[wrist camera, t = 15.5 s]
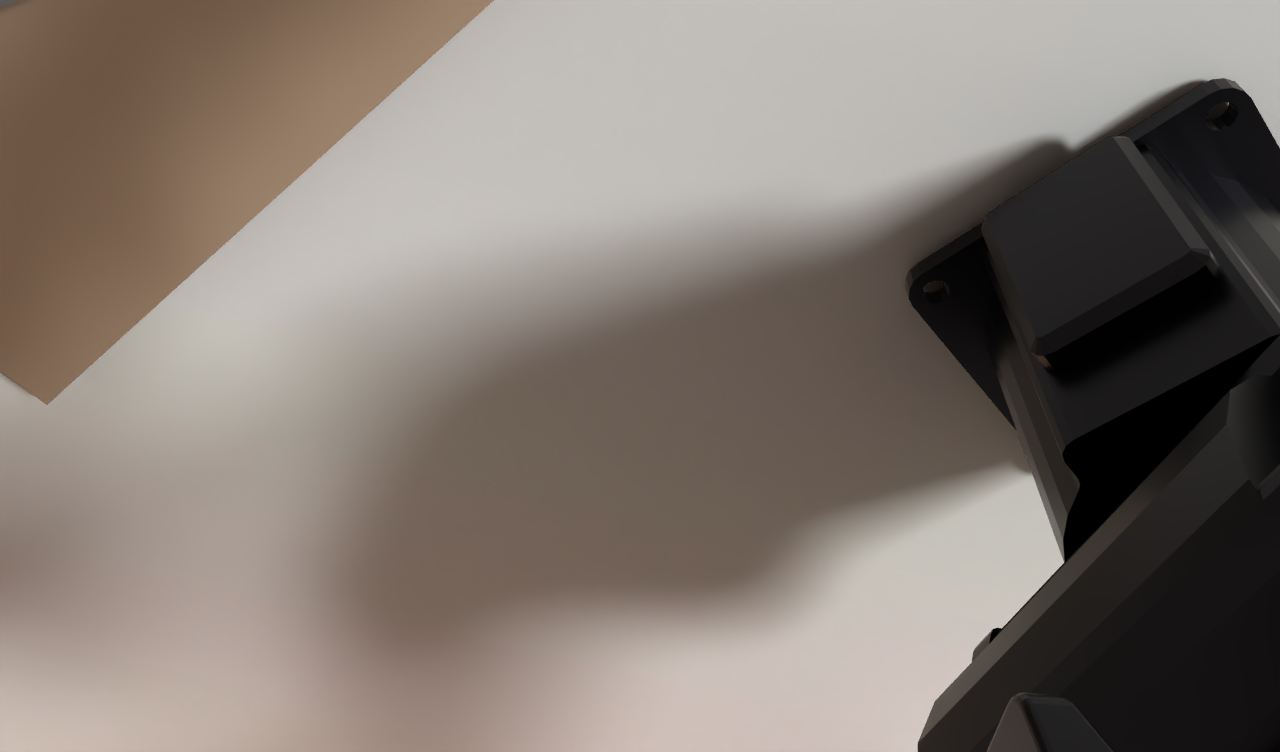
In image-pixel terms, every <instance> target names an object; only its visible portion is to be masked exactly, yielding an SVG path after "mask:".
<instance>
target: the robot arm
mask: <svg viewBox="0 0 1280 752" xmlns="http://www.w3.org/2000/svg"><path fill="white" fill-rule="evenodd" d="M1222 102H1229V106H1228V108H1227V110H1226V112H1225V113H1224V114H1223V115H1222V116H1221V117H1220V118H1217V119H1214V120H1212V121H1209V120H1206V116H1207V114H1208V111H1209V110H1210V109H1211V108H1212V107H1214V106H1215V105H1216V104H1219V103H1222ZM933 281H943V282H944V283H945V284H944V286H943V287H942V288H941V289H940V290H938V291H935V292H925V291H924V290H923V288H924V287H925V286H926V285H927V284H928V283H930V282H933ZM906 290H907V294H908V297H909V300H910V302H911V304H912V306H913V307H914V309H915V310H916V311H917V312H918V313H919V315H920V316H921V317H922V318H923V319H924V321H925V322H926V323H927V324H928V325H929V327H930V328H931V329H932V330H933V331H934V332H935V334H936V335H937V336H938V337H939V338H940V340H941V341H942V342H943V343H944V344H945V346H946V347H947V348H948V349H949V350H950V352H951V353H952V354H953V355H954V356H955V358H956V359H957V360H958V361H959V362H960V364H961V365H962V366H963V367H964V368H965V370H966V371H967V372H968V373H969V374H970V375H971V377H972V378H973V379H974V380H975V381H976V383H977V384H978V385H979V386H980V387H981V389H982V390H983V391H984V392H985V393H986V395H987V396H988V397H989V398H990V399H991V401H992V402H993V403H994V404H995V405H996V407H997V408H998V409H999V410H1000V411H1001V413H1002V414H1003V415H1004V416H1005V417H1006V418H1007V420H1008V421H1009V422H1010V423H1011V424H1012V426H1013V427H1014V428H1015V429H1016V430H1017V432H1018V435H1019V438H1020V441H1021V444H1022V446H1023V449H1024V452H1025V455H1026V457H1027V460H1028V463H1029V466H1030V469H1031V471H1032V474H1033V477H1034V480H1035V482H1036V485H1037V488H1038V491H1039V494H1040V496H1041V499H1042V502H1043V505H1044V507H1045V510H1046V513H1047V516H1048V519H1049V521H1050V524H1051V527H1052V530H1053V532H1054V535H1055V538H1056V541H1057V544H1058V546H1059V549H1060V552H1061V555H1062V557H1063V560H1064V564H1063V565H1062V566H1061V567H1060V568H1059V569H1058V570H1057V571H1056V572H1055V573H1054V574H1053V575H1052V576H1051V577H1050V578H1049V579H1048V580H1047V582H1046V583H1045V584H1044V585H1043V586H1042V587H1041V588H1040V589H1039V590H1038V591H1037V592H1036V593H1035V594H1034V595H1033V596H1032V597H1031V598H1030V600H1029V601H1028V602H1027V603H1026V604H1025V605H1024V606H1023V607H1022V608H1021V609H1020V610H1019V611H1018V612H1017V613H1016V614H1015V615H1014V616H1013V617H1012V619H1011V620H1010V621H1009V622H1008V623H1007V624H1006V625H1005V626H1004V627H1003V628H1002V629H1001V628H995V629H993V630H992V631H991V632H990V633H989V634H988V635H987V636H986V637H985V638H984V639H983V640H982V641H981V642H980V643H979V645H978V646H977V647H976V648H975V650H974V652H973V658H972V663H971V664H970V665H969V666H968V667H967V668H966V669H965V670H964V671H963V672H962V673H961V674H960V675H959V677H958V678H957V679H956V680H955V681H954V682H953V683H952V684H951V685H950V686H949V687H948V688H947V689H946V690H945V691H944V692H943V693H942V694H941V695H940V697H939V698H938V699H937V700H936V701H935V702H934V705H933V707H932V710H931V712H930V715H929V717H928V720H927V722H926V724H925V727H924V729H923V732H922V734H921V737H920V739H919V741H918V752H1280V148H1279V146H1278V145H1277V143H1276V141H1275V139H1274V138H1273V136H1272V134H1271V132H1270V130H1269V129H1268V127H1267V125H1266V123H1265V122H1264V120H1263V118H1262V116H1261V115H1260V113H1259V111H1258V109H1257V107H1256V106H1255V104H1254V102H1253V100H1252V99H1251V97H1250V96H1249V95H1248V94H1247V93H1246V92H1245V91H1244V90H1243V89H1242V88H1241V87H1240V86H1239V85H1238V84H1237V83H1236V82H1235V81H1231V80H1228V79H1225V78H1223V79H1213V80H1210V81H1208V82H1206V83H1203V84H1201V85H1199V86H1198V87H1196V88H1194V89H1193V90H1191V91H1190V92H1188V93H1187V94H1185V95H1183V96H1182V97H1180V98H1179V99H1177V100H1175V101H1174V102H1172V103H1171V104H1169V105H1168V106H1166V107H1164V108H1163V109H1161V110H1160V111H1158V112H1156V113H1155V114H1153V115H1152V116H1150V117H1149V118H1147V119H1145V120H1144V121H1142V122H1141V123H1139V124H1137V125H1136V126H1134V127H1133V128H1131V129H1130V130H1128V131H1126V132H1125V133H1123V134H1122V135H1120V136H1111V137H1107V138H1106V139H1104V140H1102V141H1101V142H1099V143H1098V144H1096V145H1094V146H1093V147H1091V148H1090V149H1088V150H1087V151H1085V152H1083V153H1082V154H1080V155H1079V156H1077V157H1076V158H1074V159H1072V160H1071V161H1069V162H1068V163H1066V164H1065V165H1063V166H1061V167H1060V168H1058V169H1057V170H1055V171H1053V172H1052V173H1050V174H1049V175H1047V176H1046V177H1044V178H1042V179H1041V180H1039V181H1038V182H1036V183H1035V184H1033V185H1031V186H1030V187H1028V188H1027V189H1025V190H1024V191H1022V192H1020V193H1019V194H1017V195H1016V196H1014V197H1013V198H1011V199H1009V200H1008V201H1006V202H1005V203H1003V204H1001V205H1000V206H998V207H997V208H995V209H994V210H992V211H990V212H989V213H988V214H987V215H986V217H985V220H984V222H982V223H981V224H979V225H978V226H976V227H974V228H973V229H971V230H970V231H968V232H967V233H965V234H963V235H962V236H960V237H959V238H957V239H955V240H954V241H952V242H951V243H949V244H948V245H946V246H944V247H943V248H941V249H940V250H938V251H936V252H935V253H933V254H932V255H930V256H929V257H927V258H925V259H924V260H922V261H921V262H919V263H918V264H916V265H915V266H914V267H913V268H912V269H911V270H910V271H909V273H908V275H907V277H906Z"/></svg>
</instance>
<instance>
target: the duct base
mask: <svg viewBox="0 0 1280 752" xmlns="http://www.w3.org/2000/svg"><path fill="white" fill-rule="evenodd" d="M492 1H493V0H0V372H1V373H2V374H4V375H5V376H6V377H8V378H9V379H11V380H12V381H14V382H15V383H17V384H18V385H19V386H21V387H22V388H24V389H25V390H27V391H28V392H29V393H31V394H32V395H34V396H35V397H37V398H38V399H40V400H41V401H42V402H44V403H45V404H48V403H50V402H51V401H52V400H53V399H54V398H55V397H56V396H57V395H58V394H59V393H61V392H62V391H63V390H64V389H65V388H66V387H67V386H68V385H69V384H71V383H72V382H73V381H74V380H75V379H76V378H77V377H78V376H79V375H80V374H82V373H83V372H84V371H85V370H86V369H87V368H88V367H89V366H90V365H92V364H93V363H94V362H95V361H96V360H97V359H98V358H99V357H100V356H101V355H103V354H104V353H105V352H106V351H107V350H108V349H109V348H110V347H111V346H112V345H114V344H115V343H116V342H117V341H118V340H119V339H120V338H121V337H122V336H124V335H125V334H126V333H127V332H128V331H129V330H130V329H131V328H132V327H133V326H135V325H136V324H137V323H138V322H139V321H140V320H141V319H142V318H143V317H145V316H146V315H147V314H148V313H149V312H150V311H151V310H152V309H153V308H154V307H156V306H157V305H158V304H159V303H160V302H161V301H162V300H163V299H164V298H165V297H167V296H168V295H169V294H170V293H171V292H172V291H173V290H174V289H175V288H177V287H178V286H179V285H180V284H181V283H182V282H183V281H184V280H185V279H186V278H188V277H189V276H190V275H191V274H192V273H193V272H194V271H195V270H196V269H198V268H199V267H200V266H201V265H202V264H203V263H204V262H205V261H206V260H207V259H209V258H210V257H211V256H212V255H213V254H214V253H215V252H216V251H217V250H219V249H220V248H221V247H222V246H223V245H224V244H225V243H226V242H227V241H228V240H230V239H231V238H232V237H233V236H234V235H235V234H236V233H237V232H238V231H239V230H241V229H242V228H243V227H244V226H245V225H246V224H247V223H248V222H249V221H251V220H252V219H253V218H254V217H255V216H256V215H257V214H258V213H259V212H260V211H262V210H263V209H264V208H265V207H266V206H267V205H268V204H269V203H270V202H272V201H273V200H274V199H275V198H276V197H277V196H278V195H279V194H280V193H281V192H283V191H284V190H285V189H286V188H287V187H288V186H289V185H290V184H291V183H292V182H294V181H295V180H296V179H297V178H298V177H299V176H300V175H301V174H302V173H304V172H305V171H306V170H307V169H308V168H309V167H310V166H311V165H312V164H313V163H315V162H316V161H317V160H318V159H319V158H320V157H321V156H322V155H323V154H325V153H326V152H327V151H328V150H329V149H330V148H331V147H332V146H333V145H334V144H336V143H337V142H338V141H339V140H340V139H341V138H342V137H343V136H344V135H345V134H347V133H348V132H349V131H350V130H351V129H352V128H353V127H354V126H355V125H357V124H358V123H359V122H360V121H361V120H362V119H363V118H364V117H365V116H366V115H368V114H369V113H370V112H371V111H372V110H373V109H374V108H375V107H376V106H378V105H379V104H380V103H381V102H382V101H383V100H384V99H385V98H386V97H387V96H389V95H390V94H391V93H392V92H393V91H394V90H395V89H396V88H397V87H399V86H400V85H401V84H402V83H403V82H404V81H405V80H406V79H407V78H408V77H410V76H411V75H412V74H413V73H414V72H415V71H416V70H417V69H418V68H419V67H421V66H422V65H423V64H424V63H425V62H426V61H427V60H428V59H429V58H431V57H432V56H433V55H434V54H435V53H436V52H437V51H438V50H439V49H440V48H442V47H443V46H444V45H445V44H446V43H447V42H448V41H449V40H450V39H452V38H453V37H454V36H455V35H456V34H457V33H458V32H459V31H460V30H461V29H463V28H464V27H465V26H466V25H467V24H468V23H469V22H470V21H471V20H472V19H474V18H475V17H476V16H477V15H478V14H479V13H480V12H481V11H482V10H484V9H485V8H486V7H487V6H488V5H489V4H490V3H491V2H492Z"/></svg>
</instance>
